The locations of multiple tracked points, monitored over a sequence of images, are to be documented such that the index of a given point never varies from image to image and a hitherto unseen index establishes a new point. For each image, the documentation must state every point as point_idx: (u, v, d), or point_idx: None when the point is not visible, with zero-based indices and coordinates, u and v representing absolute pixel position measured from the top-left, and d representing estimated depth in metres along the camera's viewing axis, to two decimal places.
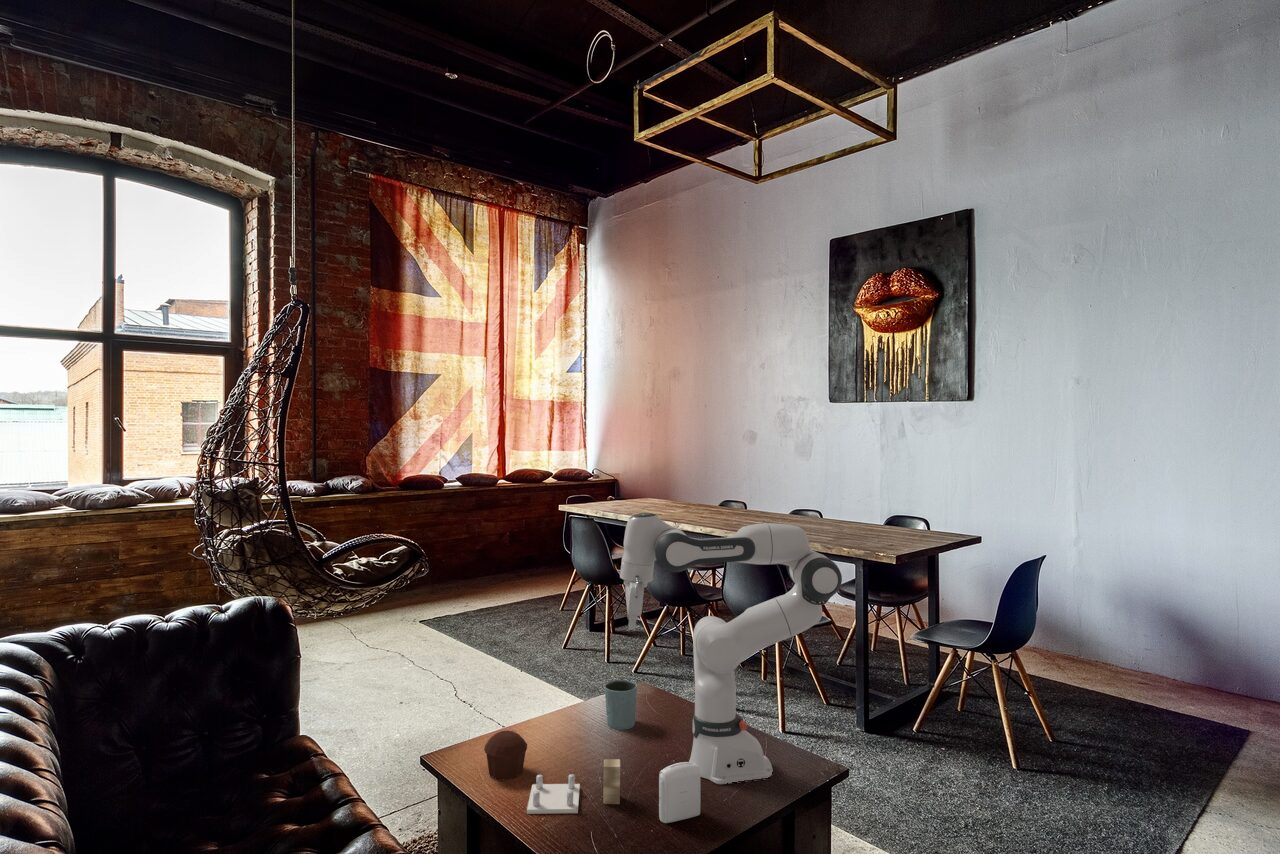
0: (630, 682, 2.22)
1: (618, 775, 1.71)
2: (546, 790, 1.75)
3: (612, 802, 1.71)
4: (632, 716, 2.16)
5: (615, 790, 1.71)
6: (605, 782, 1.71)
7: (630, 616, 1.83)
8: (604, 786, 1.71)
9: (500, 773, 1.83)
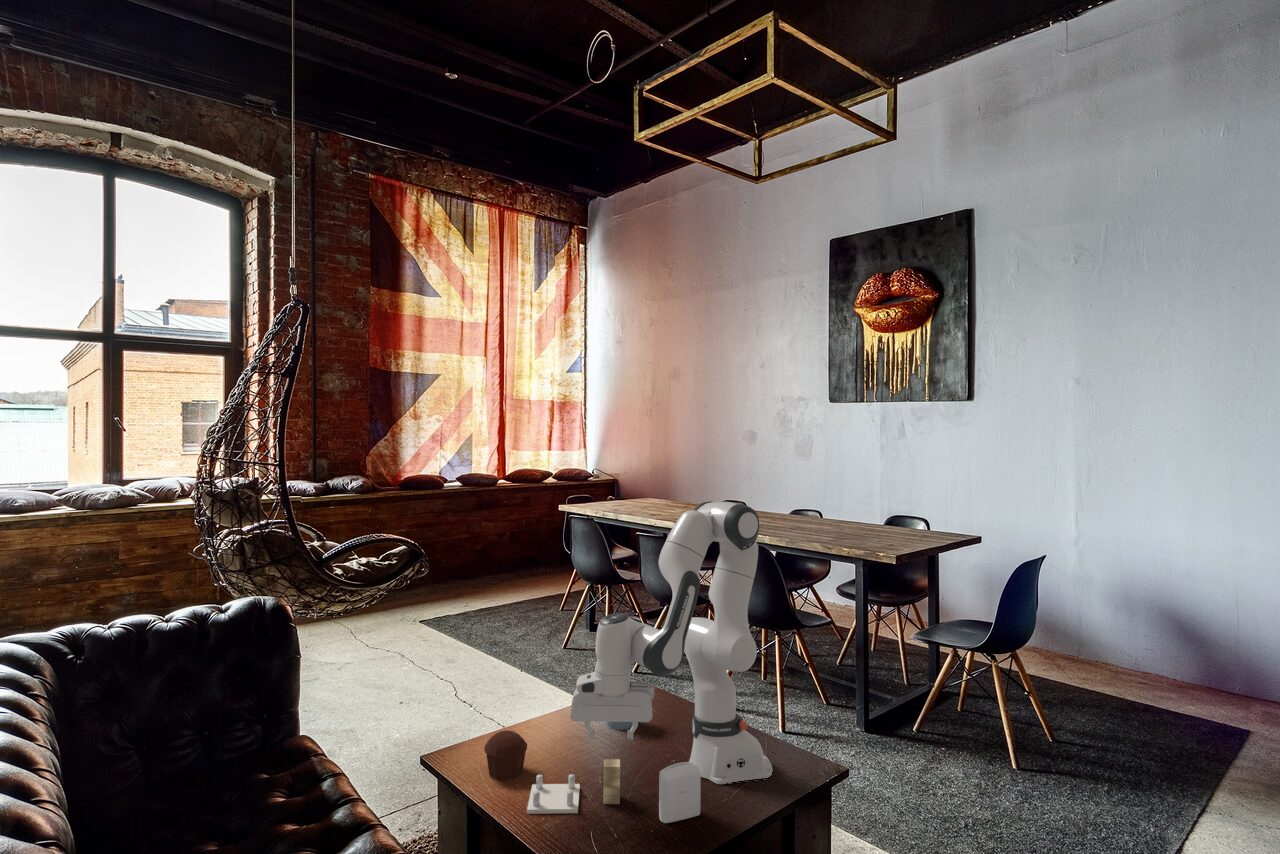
0: None
1: (618, 775, 1.71)
2: (546, 790, 1.75)
3: (612, 802, 1.71)
4: None
5: (615, 790, 1.71)
6: (605, 782, 1.71)
7: (637, 725, 1.73)
8: (604, 786, 1.71)
9: (500, 773, 1.83)
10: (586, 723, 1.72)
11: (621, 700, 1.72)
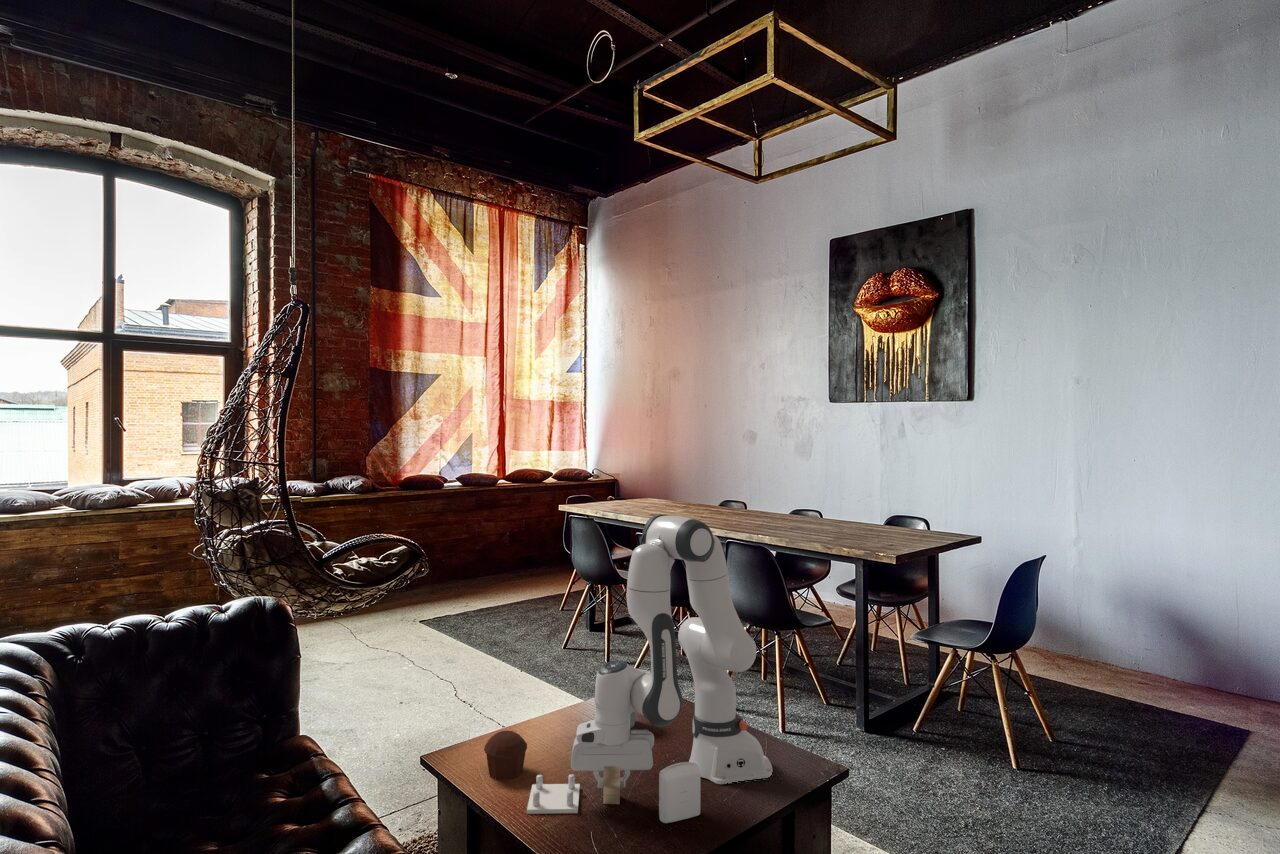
0: None
1: (618, 775, 1.71)
2: (546, 790, 1.75)
3: (612, 801, 1.71)
4: (632, 716, 2.16)
5: (615, 790, 1.71)
6: (605, 782, 1.71)
7: None
8: (604, 786, 1.71)
9: (500, 773, 1.83)
10: (595, 772, 1.72)
11: (621, 749, 1.72)
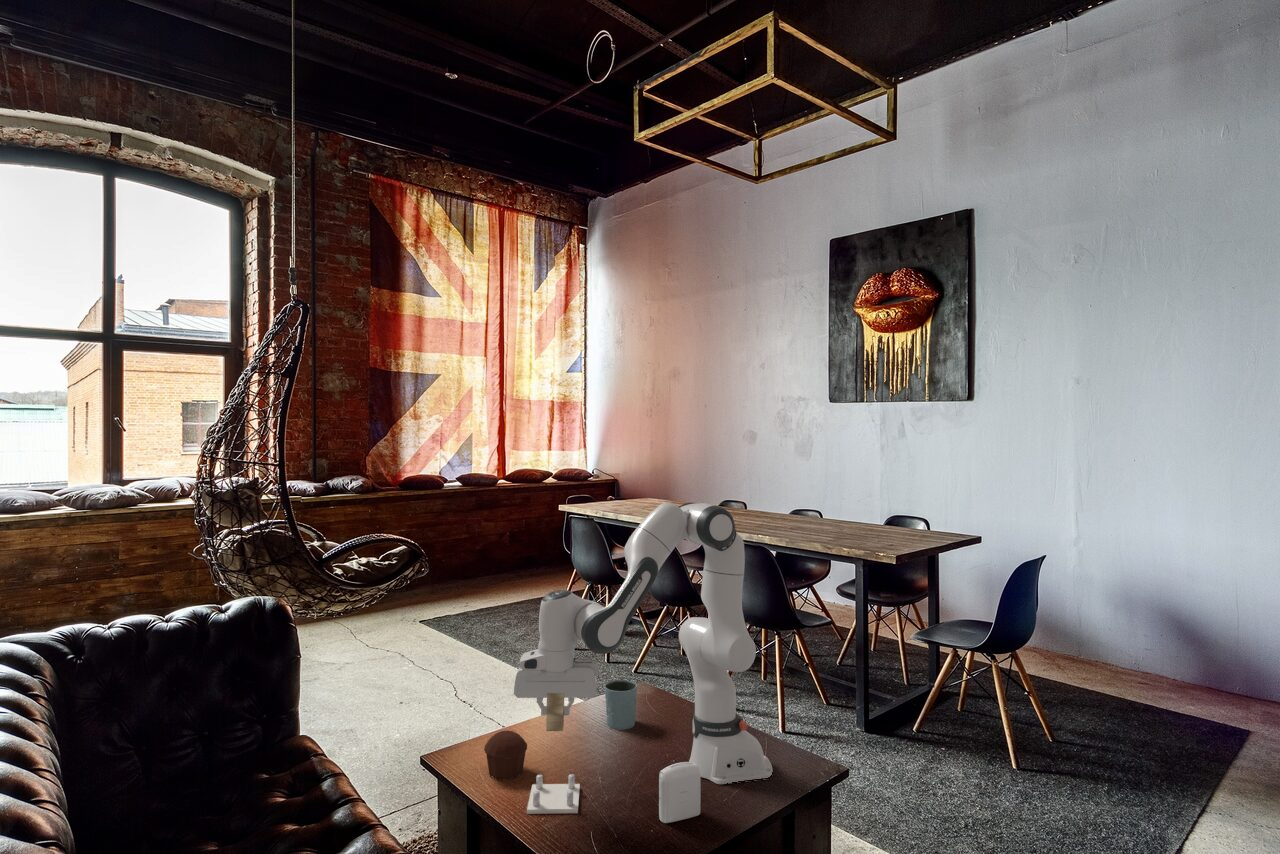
0: (630, 682, 2.22)
1: (561, 702, 1.71)
2: (546, 790, 1.75)
3: (555, 729, 1.71)
4: (632, 716, 2.16)
5: (558, 717, 1.71)
6: (548, 709, 1.71)
7: (573, 700, 1.72)
8: (547, 713, 1.71)
9: (500, 773, 1.83)
10: (538, 699, 1.72)
11: (565, 676, 1.71)
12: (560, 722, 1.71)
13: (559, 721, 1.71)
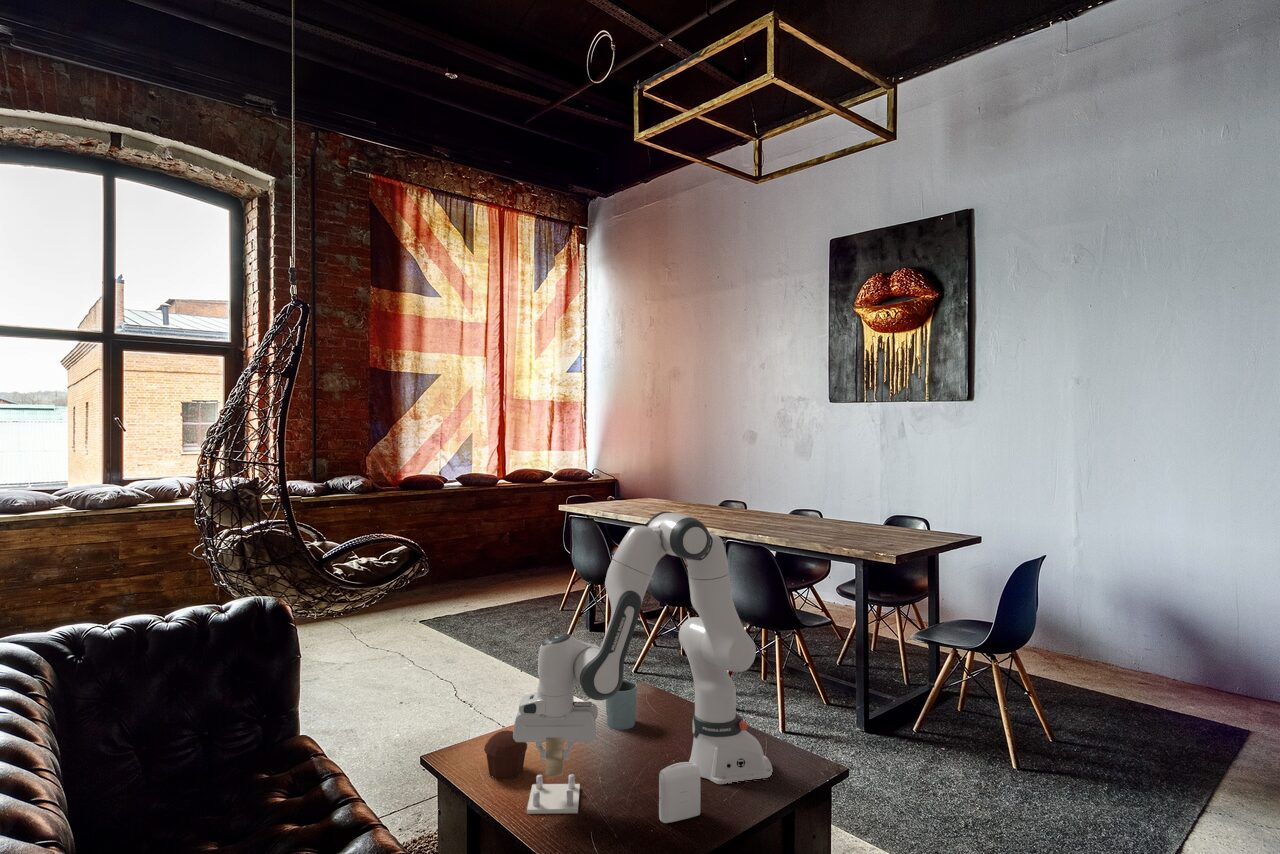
0: (630, 682, 2.22)
1: (560, 747, 1.71)
2: (546, 790, 1.75)
3: (555, 773, 1.71)
4: (632, 716, 2.16)
5: (557, 761, 1.71)
6: (547, 754, 1.71)
7: None
8: (546, 758, 1.71)
9: (500, 773, 1.83)
10: (538, 743, 1.72)
11: (564, 720, 1.71)
12: (559, 766, 1.71)
13: (558, 765, 1.71)
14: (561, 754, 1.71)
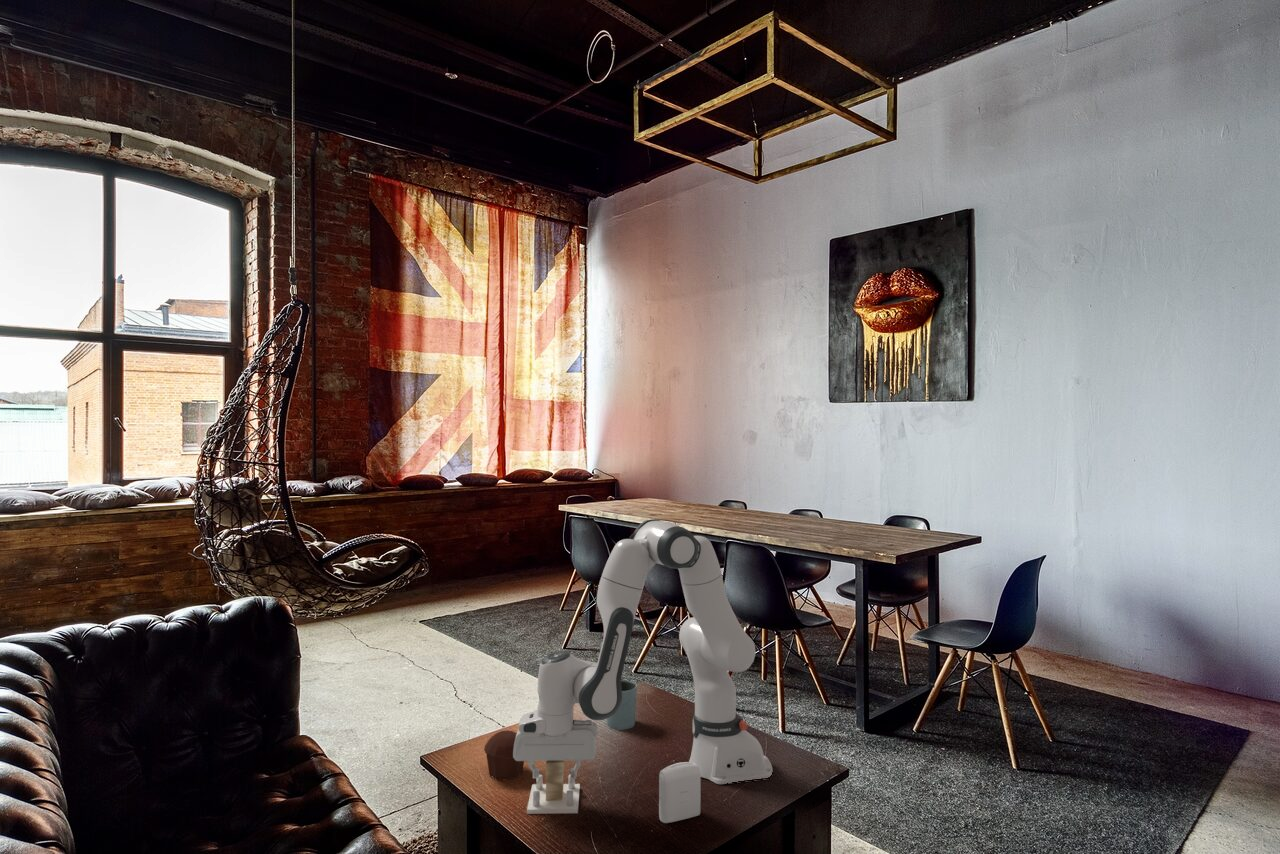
0: (630, 682, 2.22)
1: (561, 771, 1.71)
2: None
3: (555, 798, 1.71)
4: (632, 716, 2.16)
5: (557, 786, 1.71)
6: (548, 778, 1.71)
7: (580, 763, 1.72)
8: (546, 782, 1.71)
9: (500, 773, 1.83)
10: (530, 762, 1.71)
11: (564, 739, 1.71)
12: (559, 791, 1.71)
13: (558, 790, 1.71)
14: (561, 779, 1.71)
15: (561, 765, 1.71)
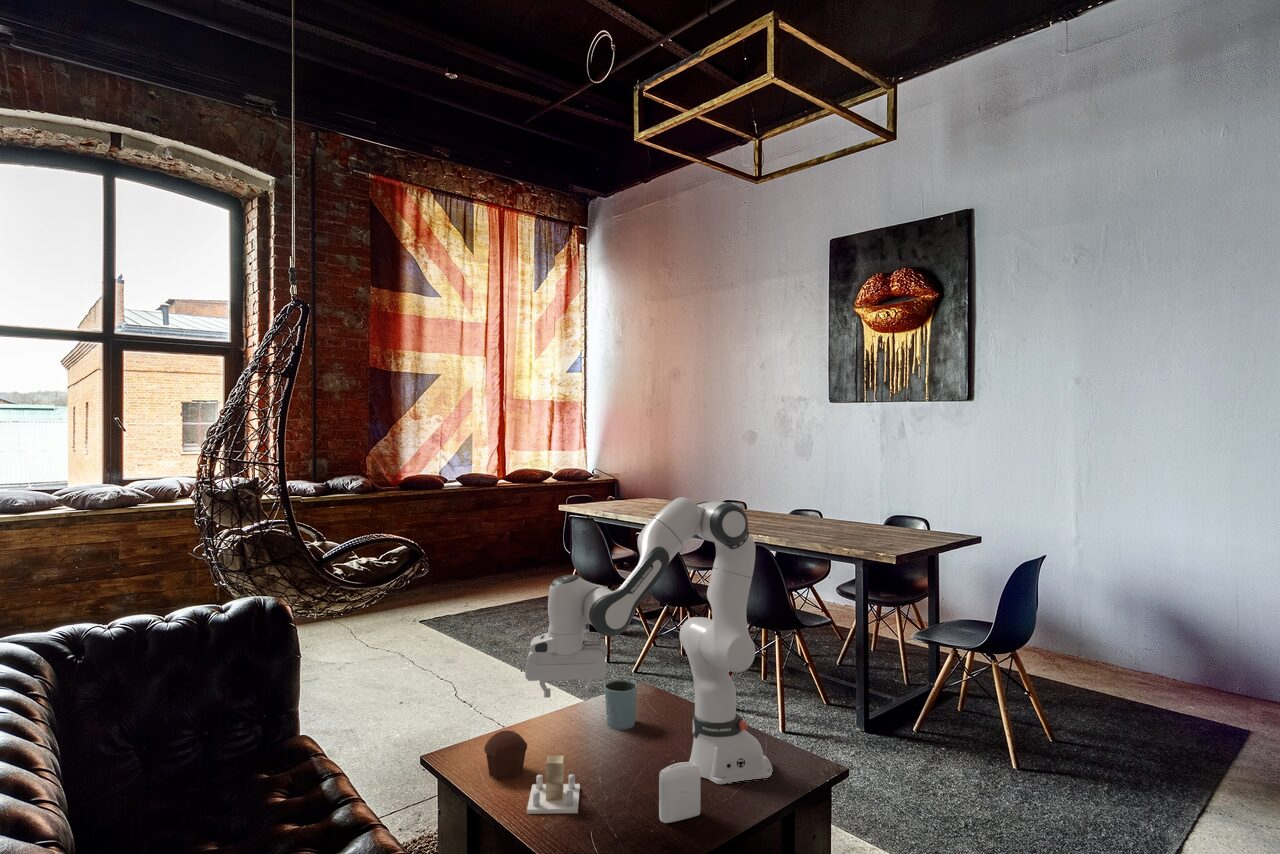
0: (630, 682, 2.22)
1: (561, 771, 1.71)
2: None
3: (555, 798, 1.71)
4: (632, 716, 2.16)
5: (557, 786, 1.71)
6: (548, 778, 1.71)
7: None
8: (546, 782, 1.71)
9: (500, 773, 1.83)
10: (541, 682, 1.75)
11: (575, 658, 1.75)
12: (559, 791, 1.71)
13: (558, 790, 1.71)
14: (561, 779, 1.71)
15: (561, 765, 1.71)
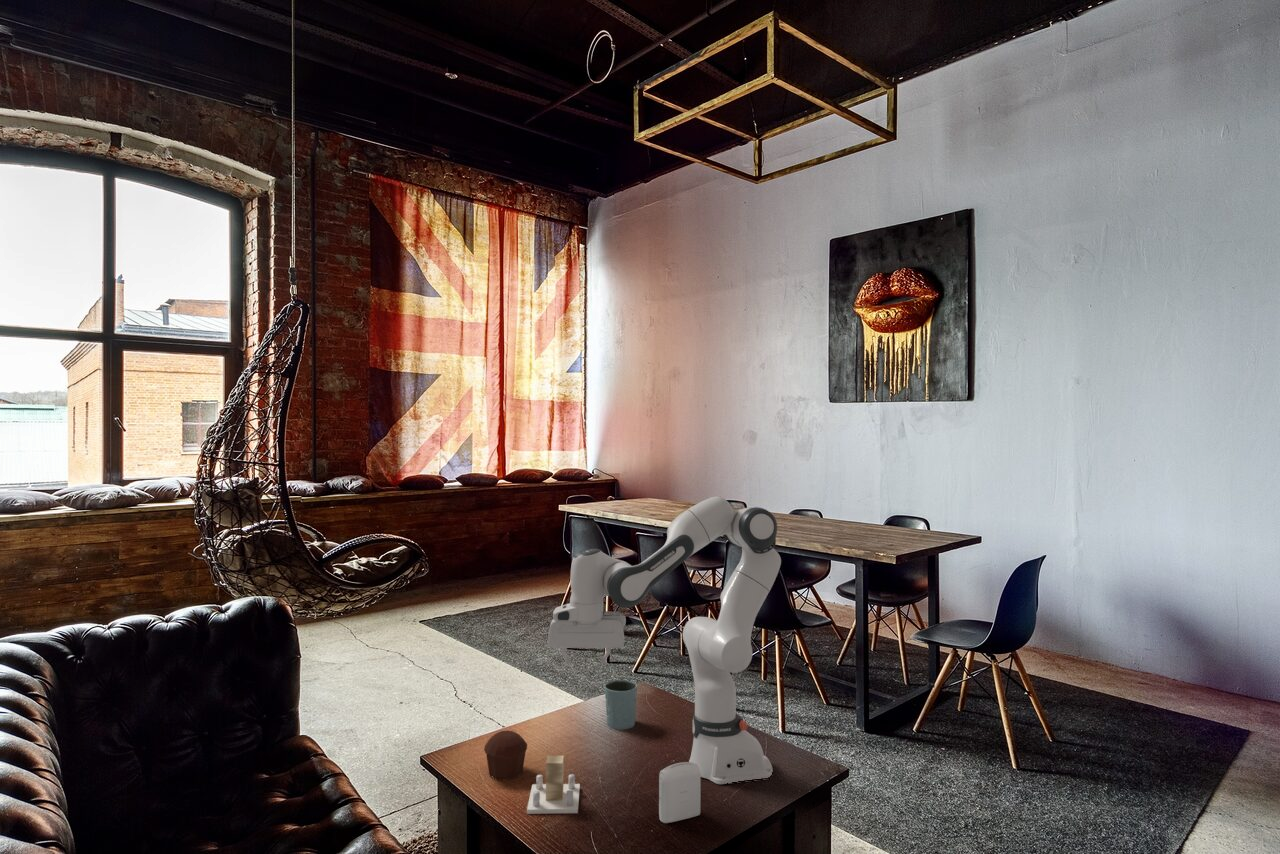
0: (630, 682, 2.22)
1: (561, 771, 1.71)
2: None
3: (555, 798, 1.71)
4: (632, 716, 2.16)
5: (557, 786, 1.71)
6: (548, 778, 1.71)
7: (610, 650, 1.86)
8: (546, 782, 1.71)
9: (500, 773, 1.83)
10: (562, 649, 1.85)
11: (595, 627, 1.85)
12: (559, 791, 1.71)
13: (558, 790, 1.71)
14: (561, 779, 1.71)
15: (561, 765, 1.71)
